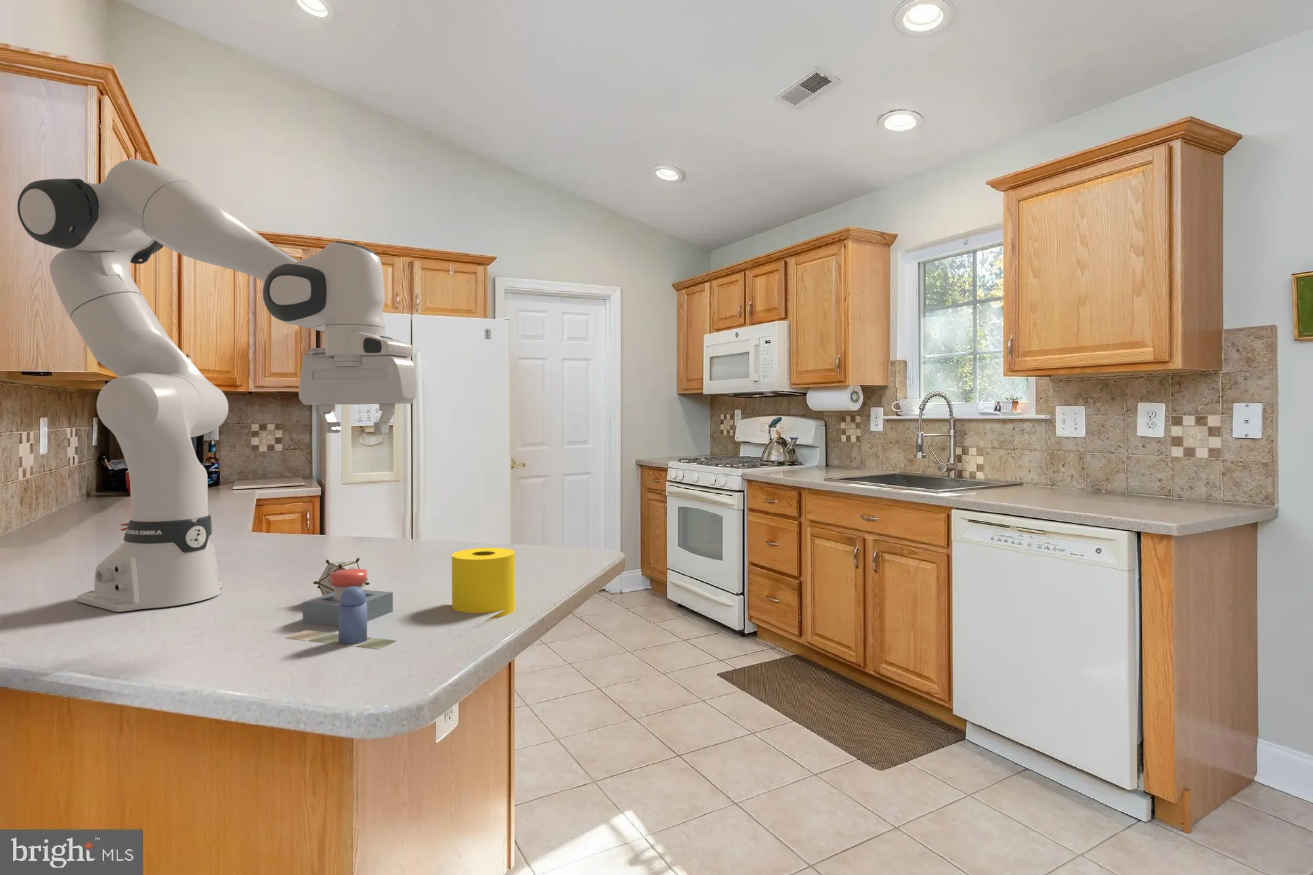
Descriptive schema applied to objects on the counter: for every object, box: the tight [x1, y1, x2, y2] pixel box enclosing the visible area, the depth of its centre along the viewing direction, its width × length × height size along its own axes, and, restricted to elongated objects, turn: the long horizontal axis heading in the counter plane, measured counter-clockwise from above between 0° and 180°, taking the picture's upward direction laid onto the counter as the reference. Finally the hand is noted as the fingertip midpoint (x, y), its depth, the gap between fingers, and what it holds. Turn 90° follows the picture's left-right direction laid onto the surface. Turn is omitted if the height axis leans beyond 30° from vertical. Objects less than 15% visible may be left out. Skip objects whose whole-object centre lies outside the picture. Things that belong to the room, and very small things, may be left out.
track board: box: [285, 629, 397, 650], centre depth 97 cm, size 16×8×1 cm, turn 72°
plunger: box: [330, 568, 368, 602], centre depth 108 cm, size 5×5×7 cm
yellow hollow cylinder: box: [451, 547, 516, 619], centre depth 115 cm, size 10×10×9 cm
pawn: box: [337, 586, 368, 646], centre depth 96 cm, size 4×4×7 cm
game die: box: [312, 557, 371, 596], centre depth 118 cm, size 9×8×10 cm
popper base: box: [302, 589, 394, 627], centre depth 108 cm, size 9×9×4 cm
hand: (356, 433), depth 112 cm, fingers open, 8 cm apart
